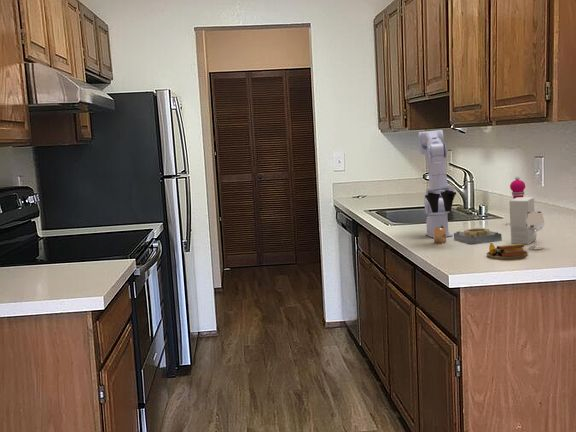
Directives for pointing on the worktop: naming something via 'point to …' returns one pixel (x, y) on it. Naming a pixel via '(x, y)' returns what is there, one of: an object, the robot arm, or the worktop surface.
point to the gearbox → (477, 236)
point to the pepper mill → (517, 188)
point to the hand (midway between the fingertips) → (441, 212)
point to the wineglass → (534, 224)
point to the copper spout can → (439, 235)
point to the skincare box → (521, 220)
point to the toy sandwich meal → (507, 251)
